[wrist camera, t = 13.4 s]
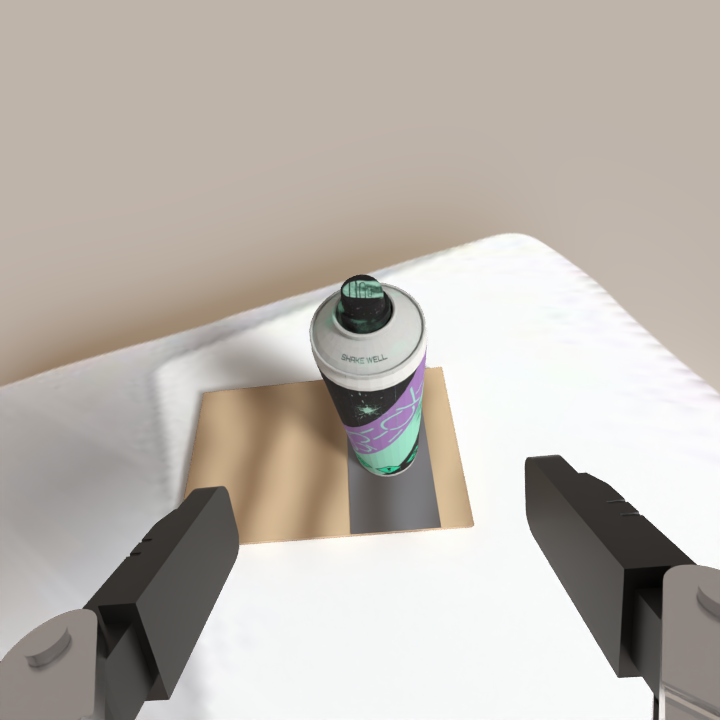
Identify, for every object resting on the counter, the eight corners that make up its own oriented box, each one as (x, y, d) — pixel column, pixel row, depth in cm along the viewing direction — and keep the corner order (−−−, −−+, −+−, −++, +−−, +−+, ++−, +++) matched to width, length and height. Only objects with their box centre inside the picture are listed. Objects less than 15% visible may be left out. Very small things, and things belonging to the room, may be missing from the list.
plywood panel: (184, 549, 30) (174, 548, 29) (210, 398, 37) (203, 392, 36) (471, 527, 28) (474, 524, 27) (440, 374, 36) (441, 366, 34)
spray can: (343, 438, 32) (269, 282, 15) (392, 404, 33) (377, 223, 16) (378, 490, 29) (338, 374, 12) (431, 451, 30) (462, 296, 13)
